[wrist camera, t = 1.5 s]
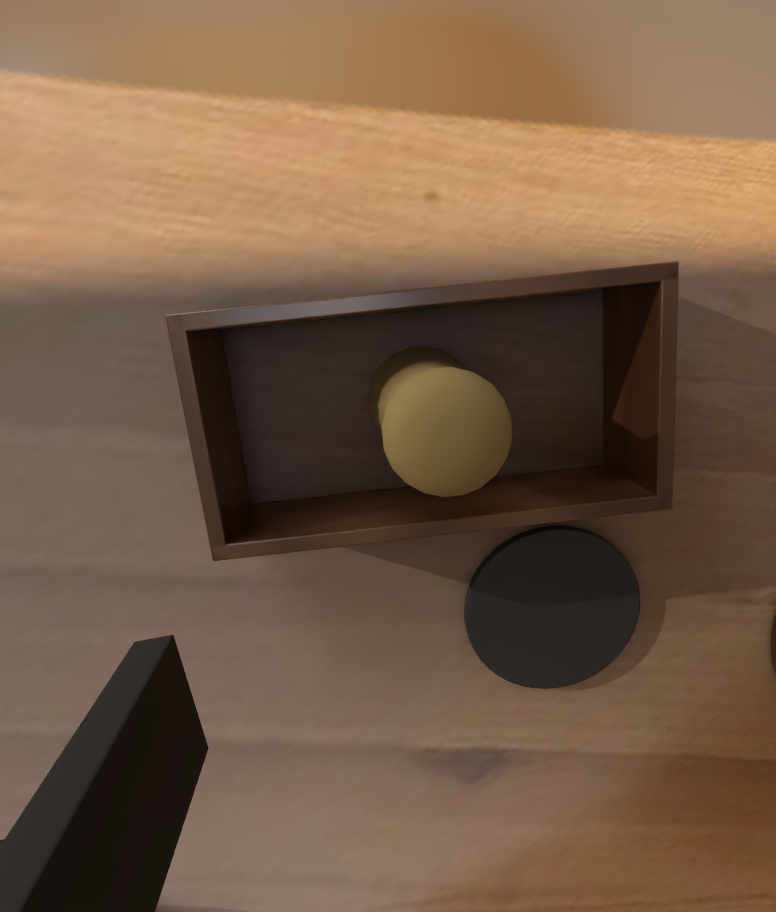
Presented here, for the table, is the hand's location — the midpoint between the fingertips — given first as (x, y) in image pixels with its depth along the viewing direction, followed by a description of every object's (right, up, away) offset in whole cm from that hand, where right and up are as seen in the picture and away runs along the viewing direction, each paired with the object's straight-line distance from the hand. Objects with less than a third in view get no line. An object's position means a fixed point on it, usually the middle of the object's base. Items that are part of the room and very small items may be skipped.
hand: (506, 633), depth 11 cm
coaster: (+8, -6, +23) cm, 25 cm away
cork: (0, +7, +20) cm, 21 cm away
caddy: (0, +7, +20) cm, 21 cm away
